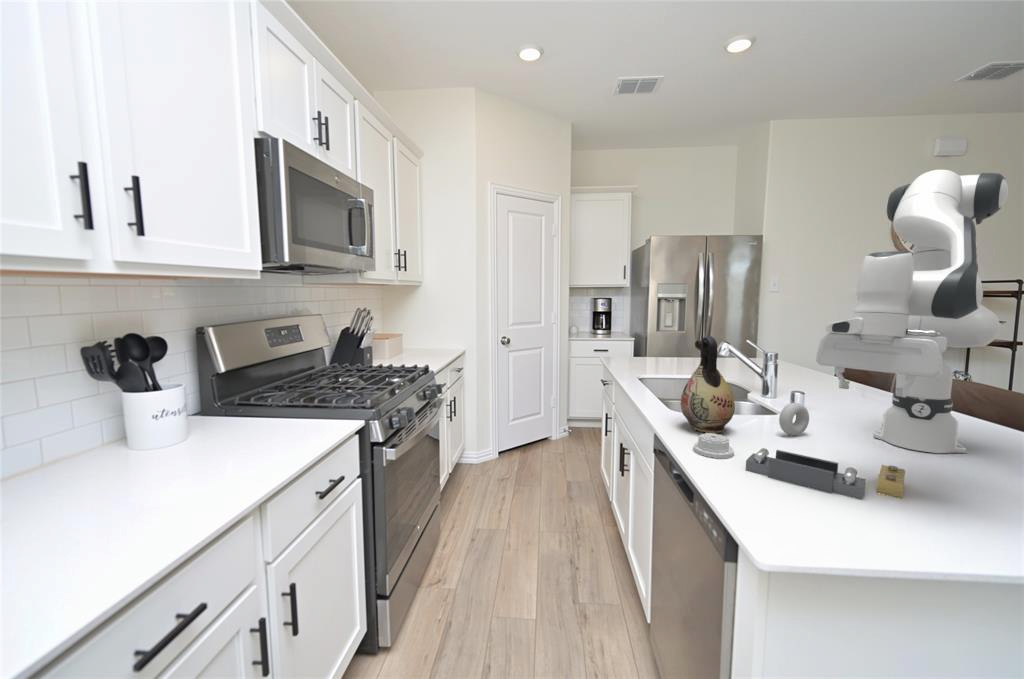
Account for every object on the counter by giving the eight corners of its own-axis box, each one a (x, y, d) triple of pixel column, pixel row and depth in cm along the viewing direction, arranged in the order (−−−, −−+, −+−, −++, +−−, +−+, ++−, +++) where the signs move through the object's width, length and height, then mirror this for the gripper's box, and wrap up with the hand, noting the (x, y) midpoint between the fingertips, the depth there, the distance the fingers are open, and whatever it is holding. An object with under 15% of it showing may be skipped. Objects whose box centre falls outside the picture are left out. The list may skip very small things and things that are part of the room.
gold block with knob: (876, 494, 92) (878, 475, 91) (880, 479, 99) (882, 462, 98) (901, 500, 89) (903, 481, 88) (903, 484, 96) (905, 467, 95)
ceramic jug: (674, 421, 143) (677, 332, 140) (723, 422, 141) (727, 332, 137) (688, 438, 126) (692, 337, 123) (743, 440, 124) (749, 338, 121)
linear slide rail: (753, 461, 108) (754, 444, 108) (865, 488, 93) (866, 469, 93) (744, 471, 103) (745, 453, 103) (861, 501, 88) (863, 480, 87)
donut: (800, 431, 131) (802, 400, 130) (811, 435, 128) (813, 402, 127) (775, 435, 128) (777, 402, 127) (785, 439, 125) (787, 405, 124)
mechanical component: (697, 458, 112) (738, 461, 110) (698, 442, 111) (739, 444, 109) (689, 445, 121) (727, 447, 119) (690, 430, 121) (728, 432, 119)
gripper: (950, 332, 84) (941, 401, 85) (825, 325, 100) (818, 383, 100) (947, 330, 80) (938, 403, 81) (817, 324, 95) (810, 385, 96)
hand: (871, 392), depth 91 cm, fingers open, 8 cm apart
